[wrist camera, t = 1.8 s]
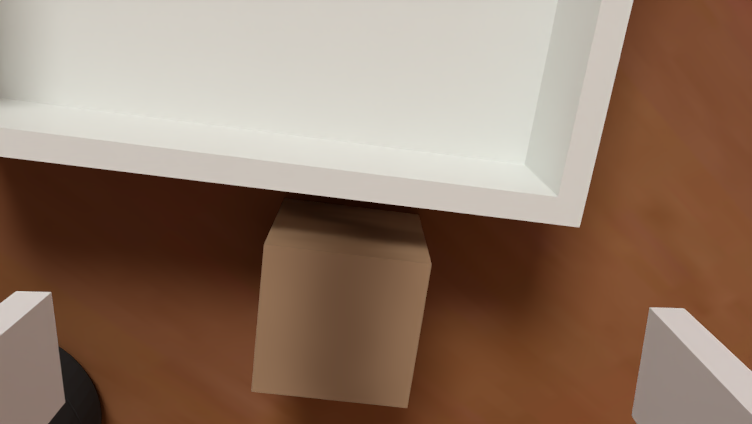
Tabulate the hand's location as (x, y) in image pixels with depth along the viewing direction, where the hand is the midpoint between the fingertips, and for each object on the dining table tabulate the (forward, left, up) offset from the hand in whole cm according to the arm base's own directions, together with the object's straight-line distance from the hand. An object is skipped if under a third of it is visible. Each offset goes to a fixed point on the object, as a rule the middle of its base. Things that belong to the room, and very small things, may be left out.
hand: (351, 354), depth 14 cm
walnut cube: (0, -4, -15) cm, 15 cm away
